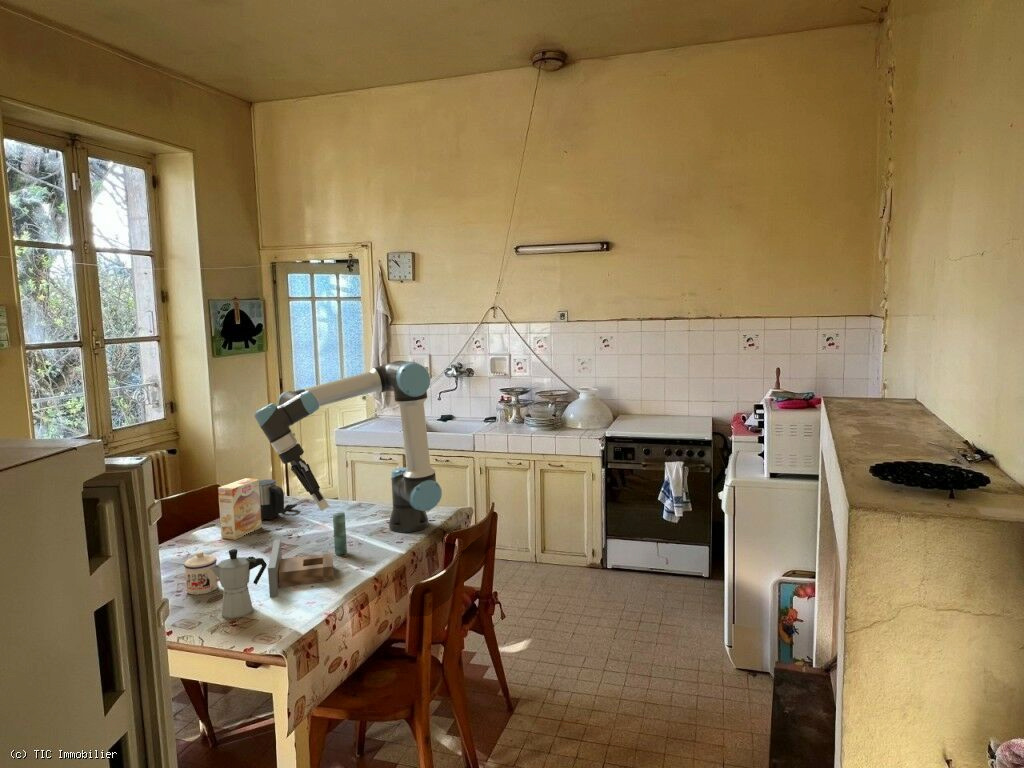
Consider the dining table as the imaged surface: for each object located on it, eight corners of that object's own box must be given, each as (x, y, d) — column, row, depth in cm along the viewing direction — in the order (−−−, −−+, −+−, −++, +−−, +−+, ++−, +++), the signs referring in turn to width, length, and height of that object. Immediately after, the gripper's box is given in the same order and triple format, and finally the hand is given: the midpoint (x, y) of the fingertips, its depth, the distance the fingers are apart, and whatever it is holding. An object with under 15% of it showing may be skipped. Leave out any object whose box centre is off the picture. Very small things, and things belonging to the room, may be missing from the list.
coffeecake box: (236, 540, 254) (232, 488, 252) (220, 538, 256) (216, 487, 254) (262, 527, 268) (259, 478, 266) (247, 525, 271) (244, 477, 268)
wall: (282, 565, 227) (280, 539, 226) (277, 596, 202) (275, 567, 201) (276, 566, 227) (274, 539, 226) (269, 597, 202) (267, 568, 201)
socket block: (333, 566, 225) (332, 553, 224) (333, 580, 213) (332, 566, 213) (281, 572, 221) (281, 558, 220) (279, 586, 209) (278, 572, 209)
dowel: (346, 551, 239) (344, 512, 238) (347, 554, 236) (344, 515, 234) (334, 552, 238) (332, 513, 237) (335, 556, 235) (332, 516, 233)
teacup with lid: (181, 596, 204) (178, 558, 203) (192, 584, 213) (189, 548, 212) (222, 593, 206) (220, 556, 204) (232, 581, 215) (229, 545, 213)
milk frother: (250, 520, 278) (247, 484, 276) (270, 508, 294) (268, 474, 292) (282, 521, 276) (280, 485, 274) (301, 509, 291) (299, 475, 289)
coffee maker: (212, 622, 186) (208, 559, 184) (212, 610, 194) (208, 548, 192) (270, 612, 192) (266, 550, 190) (268, 600, 200) (264, 540, 198)
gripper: (303, 441, 221) (341, 502, 225) (292, 443, 232) (328, 501, 236) (283, 453, 217) (321, 515, 221) (272, 455, 228) (309, 514, 232)
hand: (325, 508), depth 229 cm, fingers closed
